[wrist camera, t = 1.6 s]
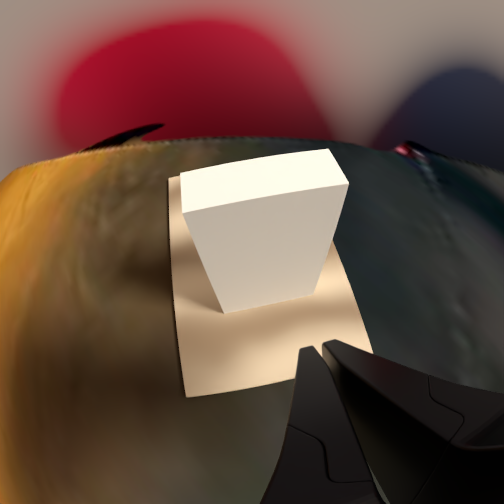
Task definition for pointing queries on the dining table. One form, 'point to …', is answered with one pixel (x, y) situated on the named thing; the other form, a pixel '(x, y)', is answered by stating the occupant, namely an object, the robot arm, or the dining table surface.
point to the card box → (264, 224)
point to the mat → (251, 321)
